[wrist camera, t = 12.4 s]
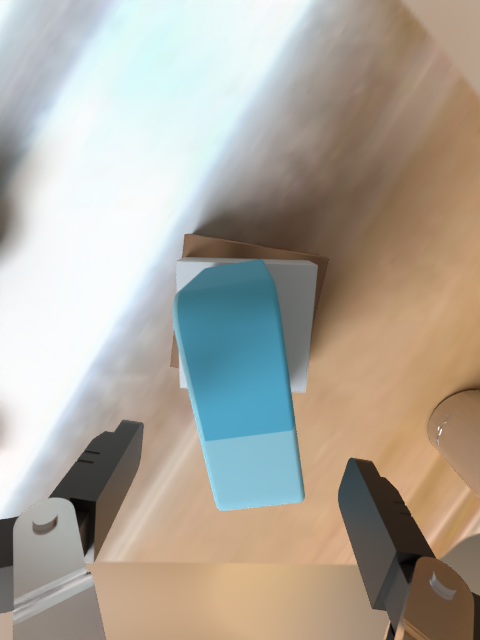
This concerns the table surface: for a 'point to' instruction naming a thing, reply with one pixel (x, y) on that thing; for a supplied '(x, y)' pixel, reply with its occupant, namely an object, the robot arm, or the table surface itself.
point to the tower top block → (294, 301)
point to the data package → (240, 384)
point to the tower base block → (234, 249)
